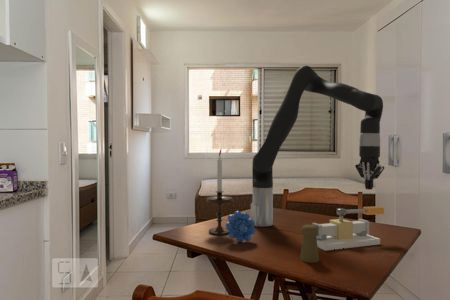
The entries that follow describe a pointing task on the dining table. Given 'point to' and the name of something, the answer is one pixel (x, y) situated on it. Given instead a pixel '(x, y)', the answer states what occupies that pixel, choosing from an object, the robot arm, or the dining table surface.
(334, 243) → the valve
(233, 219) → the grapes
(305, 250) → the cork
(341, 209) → the lever
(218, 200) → the candlestick
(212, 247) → the dining table surface
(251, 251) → the dining table surface
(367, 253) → the dining table surface
